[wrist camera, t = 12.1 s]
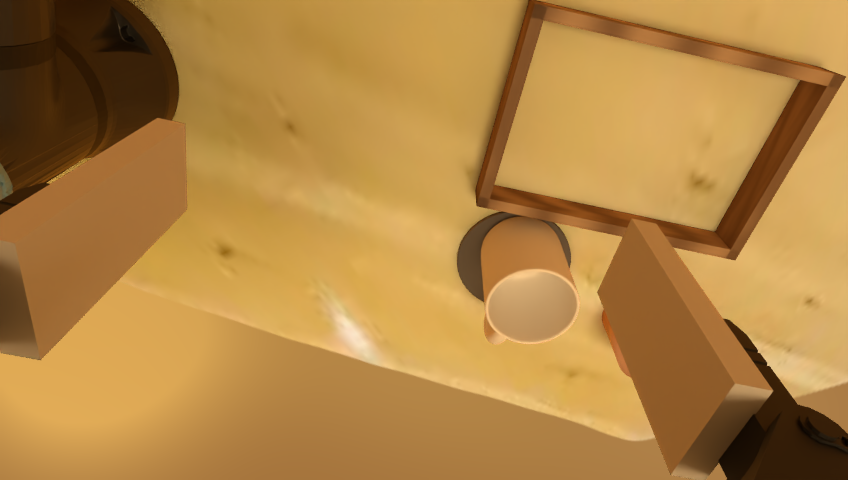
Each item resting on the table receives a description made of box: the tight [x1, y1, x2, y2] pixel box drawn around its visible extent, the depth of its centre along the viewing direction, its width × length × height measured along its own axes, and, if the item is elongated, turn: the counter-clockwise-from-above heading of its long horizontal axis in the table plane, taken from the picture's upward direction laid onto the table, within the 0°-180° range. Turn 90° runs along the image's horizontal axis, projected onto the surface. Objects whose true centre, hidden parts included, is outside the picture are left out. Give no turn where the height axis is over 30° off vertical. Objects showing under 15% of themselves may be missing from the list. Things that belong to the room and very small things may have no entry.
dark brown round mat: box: [457, 212, 571, 302], centre depth 57 cm, size 12×12×1 cm
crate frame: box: [475, 0, 846, 260], centre depth 48 cm, size 26×18×4 cm
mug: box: [481, 217, 580, 344], centre depth 52 cm, size 12×8×10 cm
